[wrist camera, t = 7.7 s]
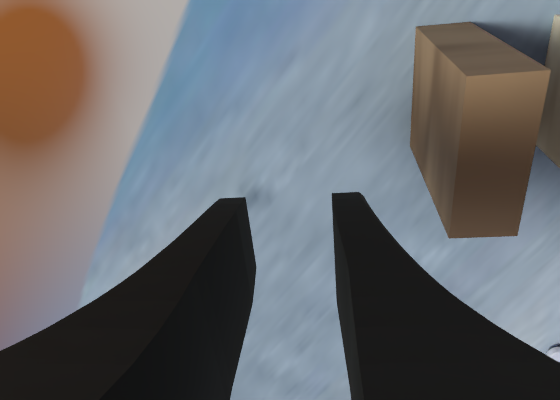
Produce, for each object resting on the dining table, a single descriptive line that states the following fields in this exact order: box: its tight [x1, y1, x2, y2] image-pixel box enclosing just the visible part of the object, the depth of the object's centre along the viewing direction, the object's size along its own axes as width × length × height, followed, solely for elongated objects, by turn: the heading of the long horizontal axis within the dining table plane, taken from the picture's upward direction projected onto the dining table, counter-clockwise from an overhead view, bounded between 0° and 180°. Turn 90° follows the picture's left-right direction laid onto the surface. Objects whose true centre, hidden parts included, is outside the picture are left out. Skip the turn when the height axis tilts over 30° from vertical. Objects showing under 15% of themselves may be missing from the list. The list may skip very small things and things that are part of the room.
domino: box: [410, 22, 551, 238], centre depth 15 cm, size 5×2×7 cm, turn 6°
